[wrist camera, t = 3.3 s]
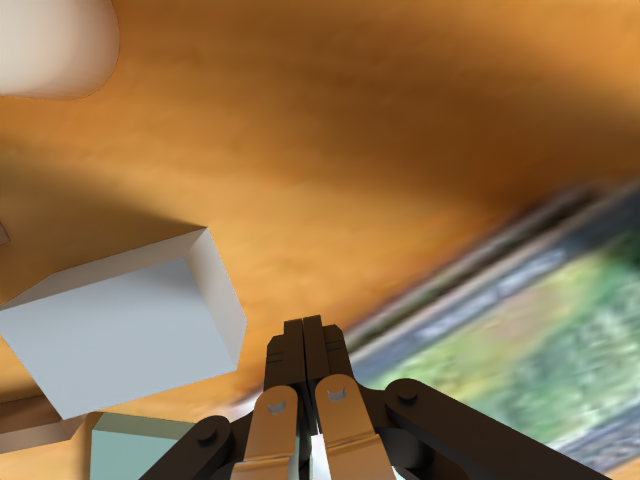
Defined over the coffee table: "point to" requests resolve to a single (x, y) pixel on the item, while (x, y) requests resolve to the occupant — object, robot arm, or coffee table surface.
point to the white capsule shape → (56, 48)
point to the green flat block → (131, 444)
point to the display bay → (32, 418)
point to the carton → (128, 325)
